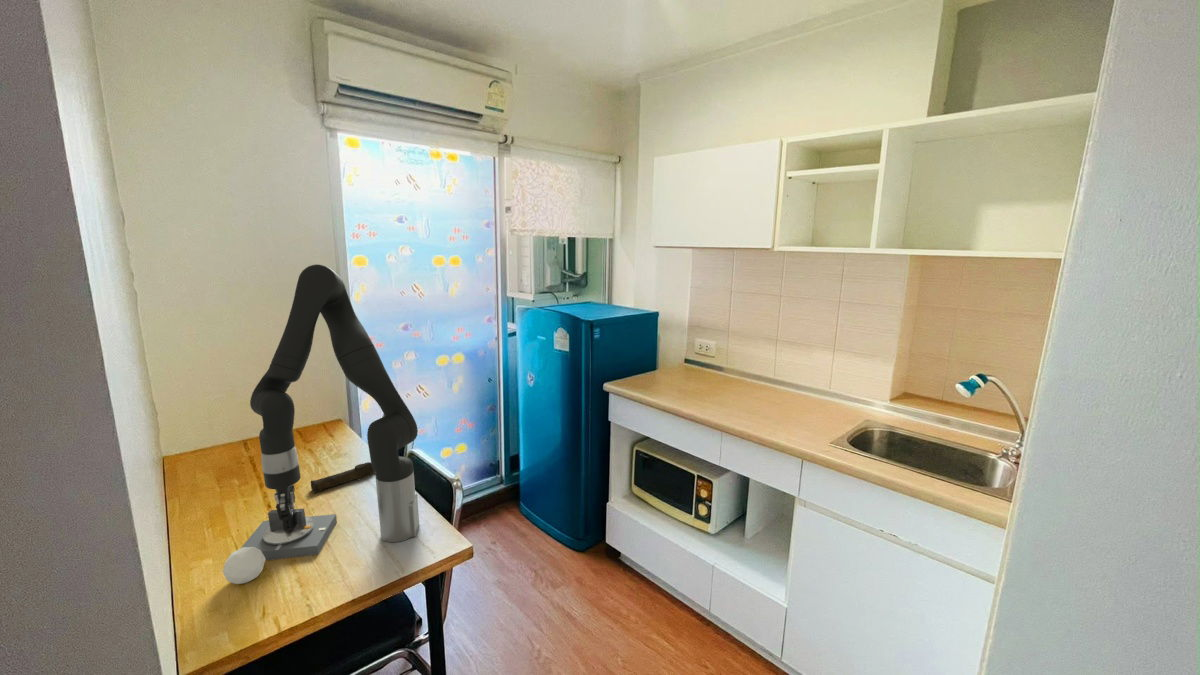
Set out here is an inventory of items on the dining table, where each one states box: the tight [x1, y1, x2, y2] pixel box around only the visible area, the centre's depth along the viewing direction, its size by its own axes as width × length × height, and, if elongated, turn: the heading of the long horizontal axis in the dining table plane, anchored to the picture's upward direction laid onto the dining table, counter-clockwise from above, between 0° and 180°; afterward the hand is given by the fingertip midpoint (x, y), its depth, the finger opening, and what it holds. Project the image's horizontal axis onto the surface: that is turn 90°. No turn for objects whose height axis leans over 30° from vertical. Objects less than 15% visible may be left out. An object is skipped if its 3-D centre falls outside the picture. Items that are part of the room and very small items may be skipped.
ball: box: [222, 546, 266, 585], centre depth 109 cm, size 8×8×8 cm
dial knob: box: [263, 508, 314, 545], centre depth 122 cm, size 11×11×6 cm
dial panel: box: [239, 513, 338, 561], centre depth 123 cm, size 18×14×3 cm
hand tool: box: [310, 461, 375, 494], centre depth 152 cm, size 19×4×5 cm, turn 131°
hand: (289, 526), depth 122 cm, fingers closed on dial knob, 2 cm apart
